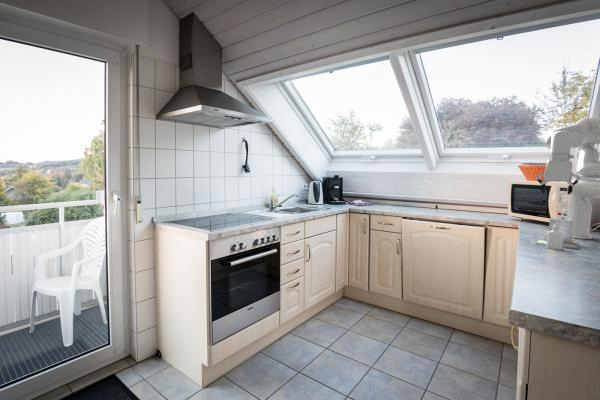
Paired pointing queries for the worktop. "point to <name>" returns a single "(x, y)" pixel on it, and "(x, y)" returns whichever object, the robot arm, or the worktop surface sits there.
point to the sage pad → (542, 242)
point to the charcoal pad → (569, 246)
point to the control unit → (563, 229)
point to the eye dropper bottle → (555, 238)
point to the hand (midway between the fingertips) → (556, 193)
